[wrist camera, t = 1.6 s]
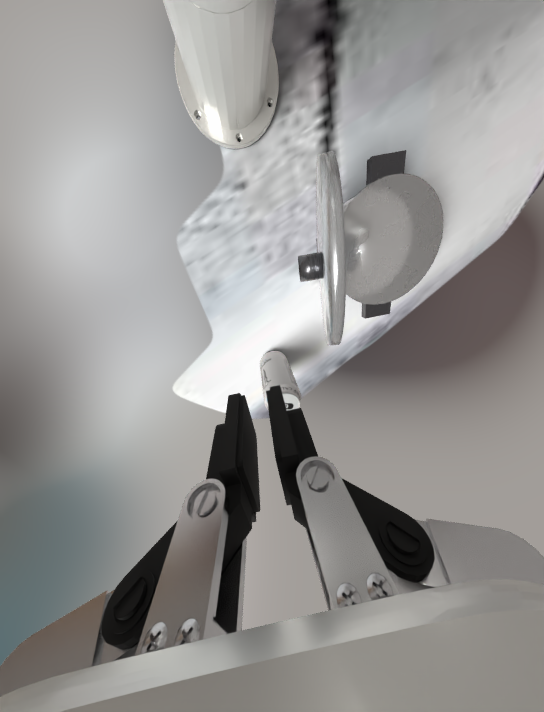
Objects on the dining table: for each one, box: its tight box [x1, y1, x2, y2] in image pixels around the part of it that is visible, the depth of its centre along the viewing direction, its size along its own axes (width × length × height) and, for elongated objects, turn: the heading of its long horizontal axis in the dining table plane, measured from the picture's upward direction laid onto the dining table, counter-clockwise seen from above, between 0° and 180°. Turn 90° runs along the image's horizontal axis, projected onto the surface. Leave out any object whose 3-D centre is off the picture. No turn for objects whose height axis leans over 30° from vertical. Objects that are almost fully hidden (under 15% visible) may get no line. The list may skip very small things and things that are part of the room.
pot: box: [316, 150, 443, 318], centre depth 33 cm, size 21×18×8 cm
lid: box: [298, 151, 346, 345], centre depth 22 cm, size 17×18×4 cm
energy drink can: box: [260, 351, 301, 410], centre depth 38 cm, size 6×6×15 cm
